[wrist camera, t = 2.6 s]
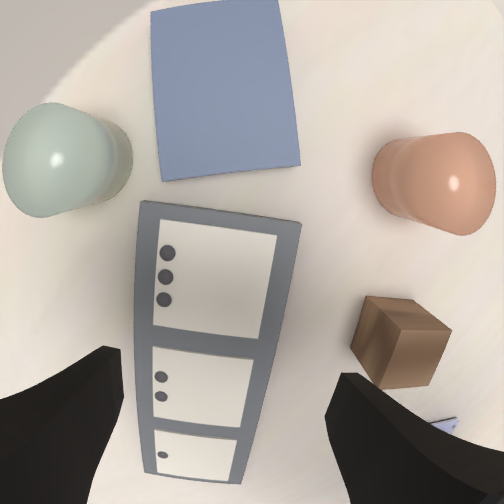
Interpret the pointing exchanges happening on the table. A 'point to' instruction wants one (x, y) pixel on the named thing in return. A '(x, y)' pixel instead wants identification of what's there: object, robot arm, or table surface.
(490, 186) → the peach dome-topped cylinder
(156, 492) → the table surface
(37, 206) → the sage dome-ended cylinder
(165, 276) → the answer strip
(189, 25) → the slate blue flat block
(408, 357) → the block
